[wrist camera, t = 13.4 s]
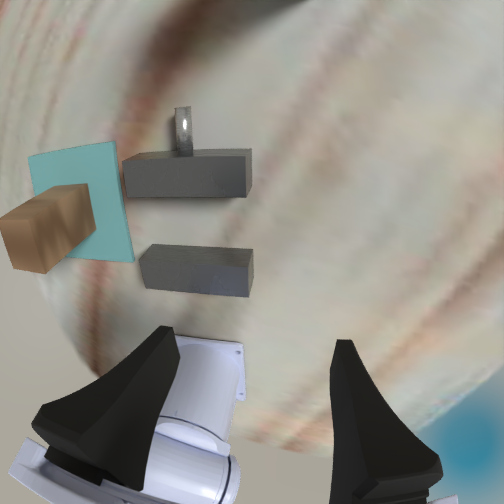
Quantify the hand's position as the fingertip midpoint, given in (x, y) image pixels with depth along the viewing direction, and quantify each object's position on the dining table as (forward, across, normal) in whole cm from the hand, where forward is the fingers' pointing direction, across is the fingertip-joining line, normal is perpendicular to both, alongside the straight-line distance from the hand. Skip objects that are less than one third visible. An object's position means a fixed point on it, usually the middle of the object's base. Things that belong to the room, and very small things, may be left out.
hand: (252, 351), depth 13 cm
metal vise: (+10, +5, -3) cm, 12 cm away
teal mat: (+10, +16, -3) cm, 20 cm away
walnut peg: (+10, +16, -3) cm, 19 cm away
